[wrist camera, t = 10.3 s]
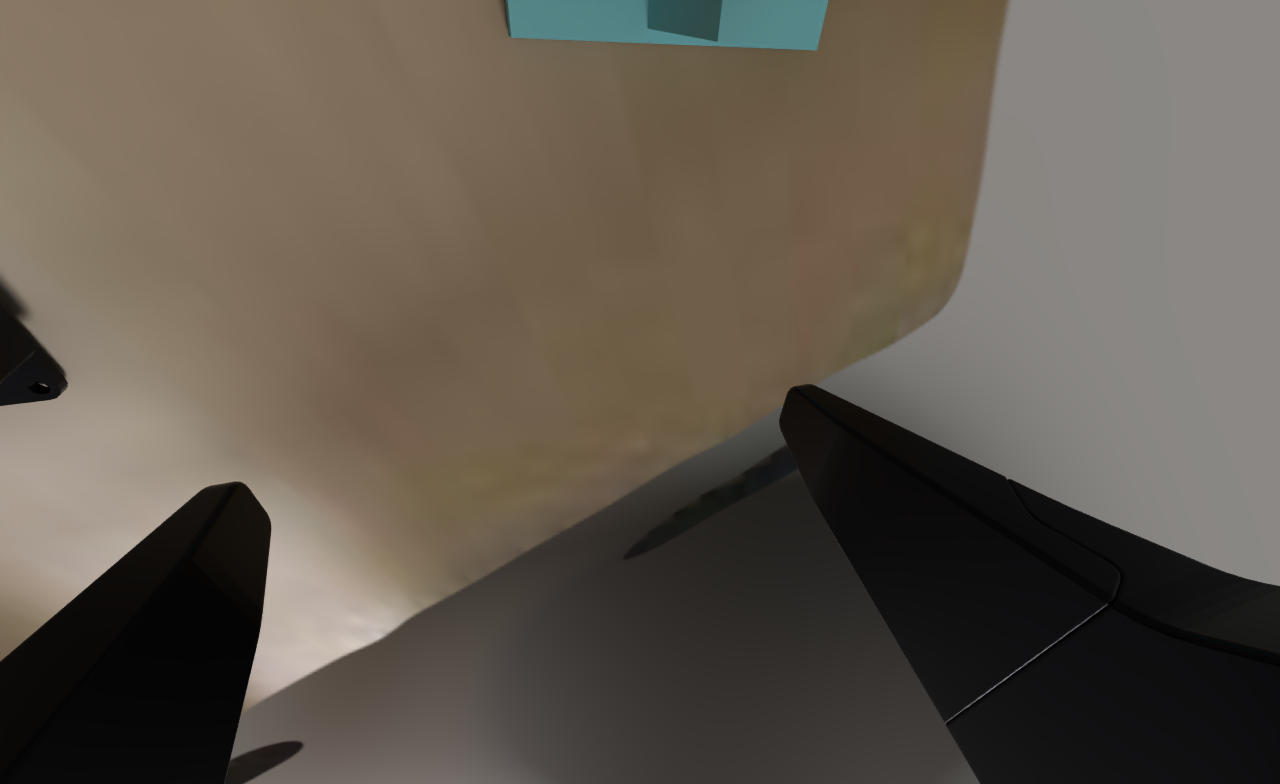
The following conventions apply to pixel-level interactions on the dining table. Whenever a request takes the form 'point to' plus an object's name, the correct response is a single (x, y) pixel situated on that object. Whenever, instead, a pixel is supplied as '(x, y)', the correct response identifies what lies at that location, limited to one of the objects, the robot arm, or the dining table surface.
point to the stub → (672, 21)
